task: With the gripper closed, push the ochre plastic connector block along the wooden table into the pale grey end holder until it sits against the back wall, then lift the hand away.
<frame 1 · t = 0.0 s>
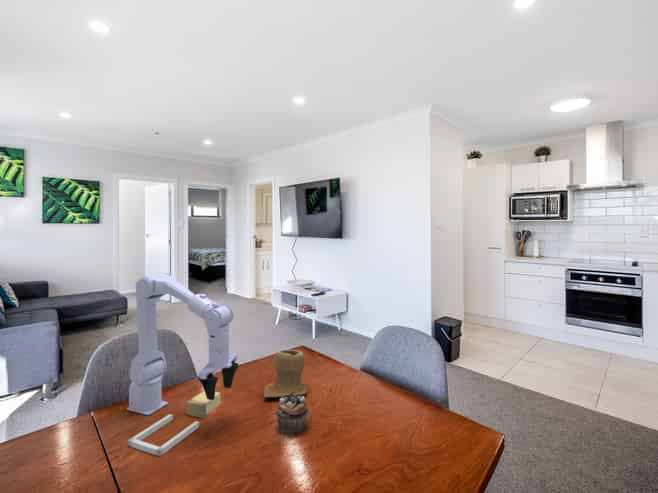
hand: (219, 393, 101), 10 cm above the table, tool pointing down, fingers open, 7 cm apart
end holder: (167, 434, 97), on the table
stone cup: (285, 393, 123), on the table
cupcake: (292, 427, 102), on the table
connector block: (204, 409, 111), on the table
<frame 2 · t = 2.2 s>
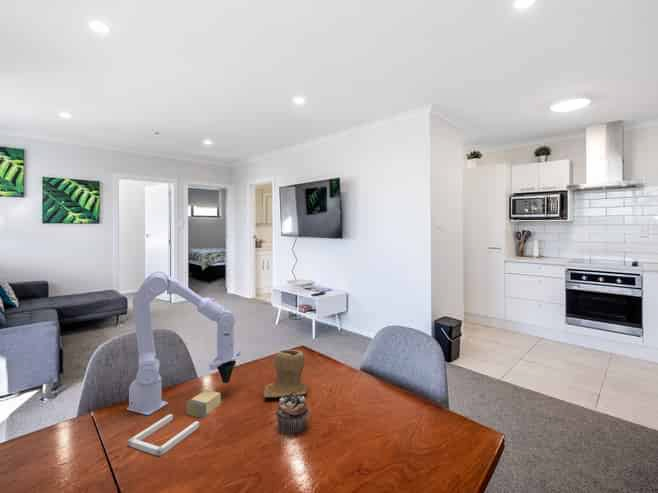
hand: (225, 382, 121), 4 cm above the table, tool pointing down, fingers closed
nothing on the table moved.
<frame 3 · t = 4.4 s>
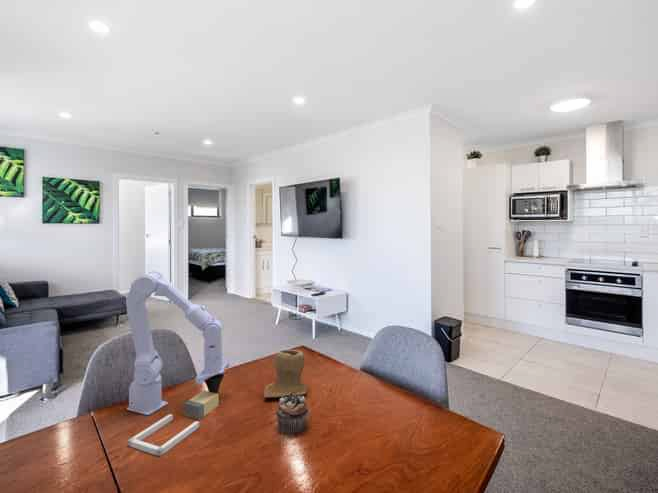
hand: (213, 395, 116), 2 cm above the table, tool pointing down, fingers closed
connector block: (201, 410, 110), on the table, touching gripper
everything else where it was.
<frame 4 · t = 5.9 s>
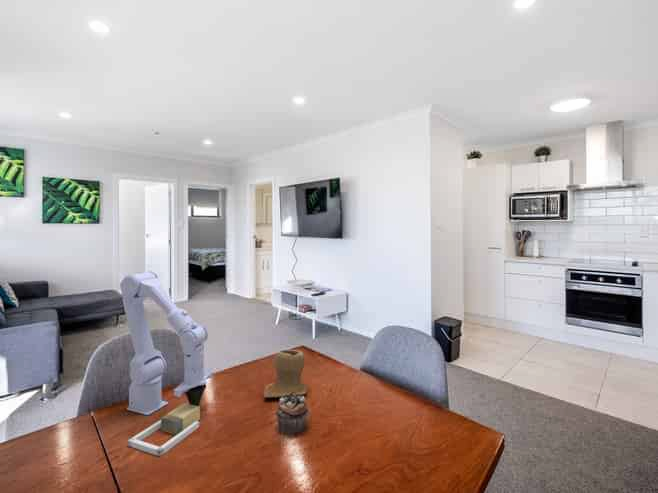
hand: (194, 408, 107), 2 cm above the table, tool pointing down, fingers closed
connector block: (181, 424, 102), on the table, touching gripper
everything else where it was.
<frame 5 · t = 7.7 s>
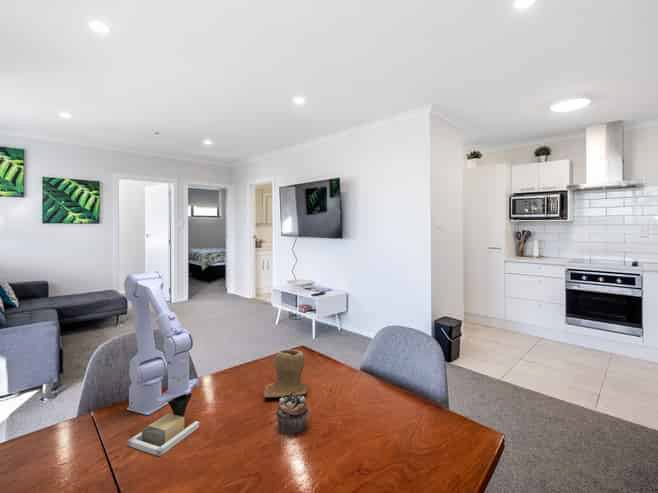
hand: (179, 418, 102), 2 cm above the table, tool pointing down, fingers closed
connector block: (164, 437, 96), on the table, touching gripper
everything else where it was.
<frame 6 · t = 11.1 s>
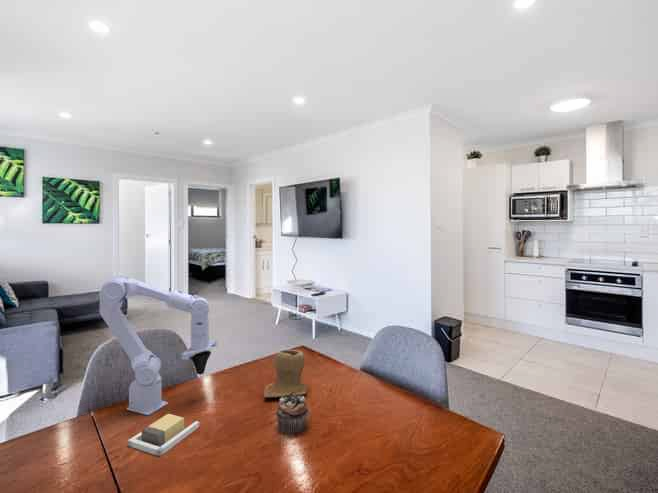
hand: (200, 373, 116), 9 cm above the table, tool pointing down, fingers closed
connector block: (163, 437, 96), on the table
everything else where it was.
at the end: connector block 0.2 cm from the target spot on the end holder, point 0.0 cm above the end holder's base; connector block tilted 0°; the gripper is holding nothing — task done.
